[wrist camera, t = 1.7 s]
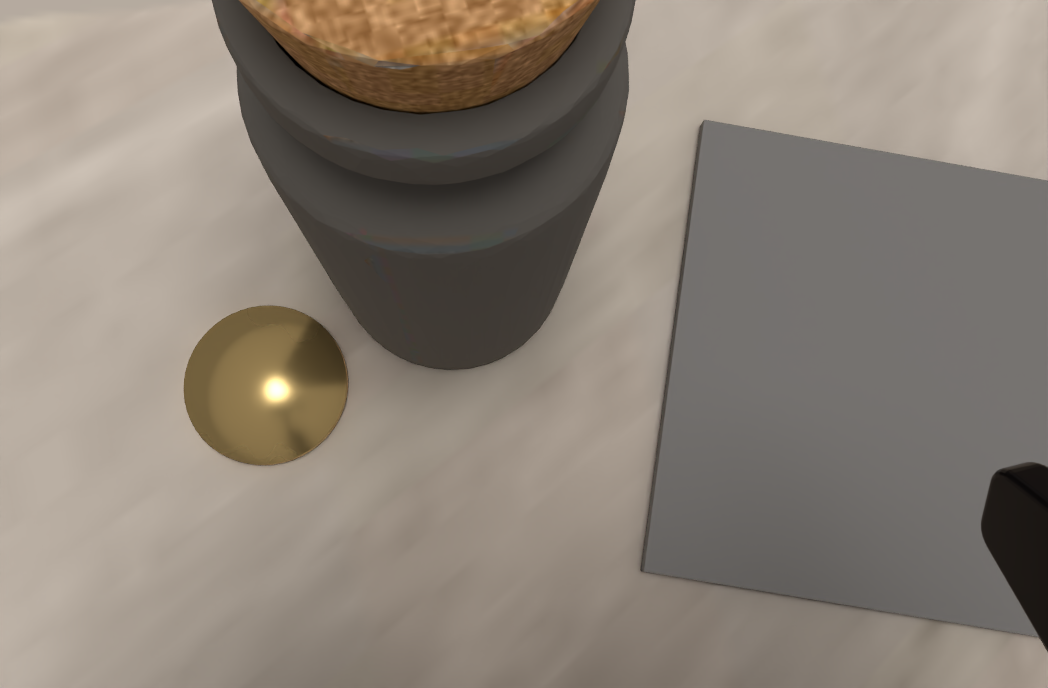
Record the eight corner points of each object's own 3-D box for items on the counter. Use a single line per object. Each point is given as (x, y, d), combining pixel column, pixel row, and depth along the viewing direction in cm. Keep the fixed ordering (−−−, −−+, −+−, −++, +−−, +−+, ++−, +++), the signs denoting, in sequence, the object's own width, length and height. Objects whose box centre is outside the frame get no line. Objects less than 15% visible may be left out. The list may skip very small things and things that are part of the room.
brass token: (330, 477, 22) (329, 477, 22) (171, 450, 22) (167, 449, 22) (362, 322, 23) (360, 319, 23) (207, 296, 23) (204, 293, 23)
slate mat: (1108, 648, 22) (1120, 650, 22) (640, 570, 22) (643, 571, 22) (1124, 201, 25) (1135, 196, 24) (700, 125, 24) (703, 119, 24)
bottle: (565, 161, 24) (708, -390, 9) (561, 376, 23) (717, 134, 8) (346, 152, 24) (139, -432, 9) (332, 368, 23) (71, 105, 8)
